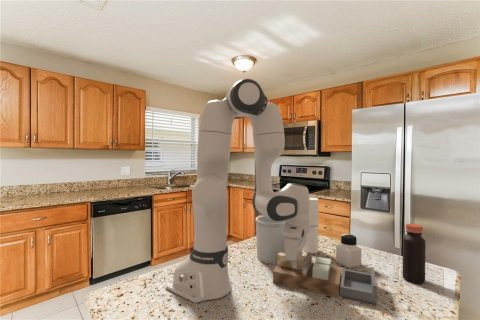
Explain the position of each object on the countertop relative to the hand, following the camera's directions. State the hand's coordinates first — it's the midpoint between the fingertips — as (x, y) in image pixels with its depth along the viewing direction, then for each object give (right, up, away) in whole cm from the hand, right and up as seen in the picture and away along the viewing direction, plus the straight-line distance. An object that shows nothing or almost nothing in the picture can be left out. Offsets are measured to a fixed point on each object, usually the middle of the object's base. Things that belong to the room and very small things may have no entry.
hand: (296, 264), depth 92 cm
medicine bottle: (+25, -5, +13) cm, 28 cm away
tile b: (+9, -1, -1) cm, 10 cm away
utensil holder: (-7, -5, +19) cm, 21 cm away
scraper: (-1, -1, +1) cm, 2 cm away
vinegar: (+43, -6, -1) cm, 43 cm away
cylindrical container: (+13, -5, +27) cm, 30 cm away
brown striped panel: (+4, -5, -2) cm, 7 cm away
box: (+18, -5, -9) cm, 21 cm away
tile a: (+7, -1, -7) cm, 10 cm away
